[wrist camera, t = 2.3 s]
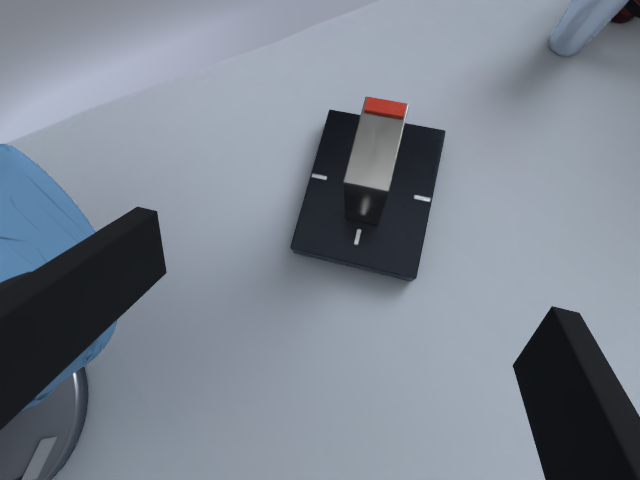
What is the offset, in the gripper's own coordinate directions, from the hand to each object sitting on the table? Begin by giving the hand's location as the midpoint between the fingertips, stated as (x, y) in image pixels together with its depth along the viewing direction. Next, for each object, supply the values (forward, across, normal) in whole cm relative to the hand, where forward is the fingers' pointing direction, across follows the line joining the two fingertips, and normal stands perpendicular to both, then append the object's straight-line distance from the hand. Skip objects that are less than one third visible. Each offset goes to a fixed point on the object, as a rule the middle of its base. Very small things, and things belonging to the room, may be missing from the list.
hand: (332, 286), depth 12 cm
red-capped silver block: (+20, 0, -4) cm, 20 cm away
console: (+21, 0, -6) cm, 22 cm away
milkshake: (+36, +16, +8) cm, 40 cm away
